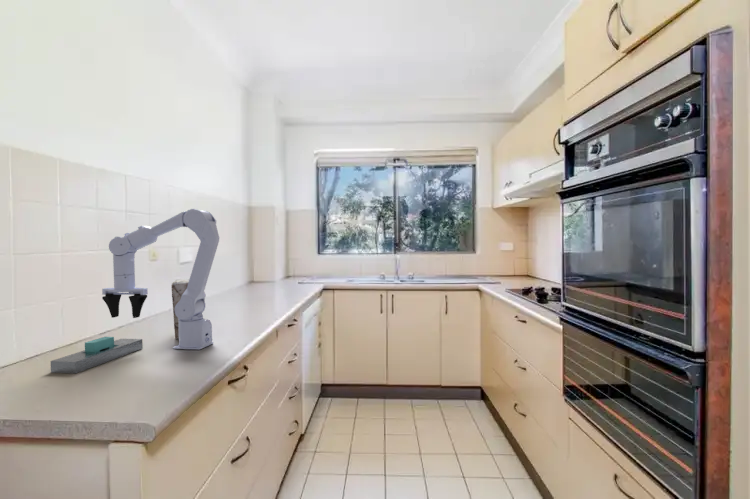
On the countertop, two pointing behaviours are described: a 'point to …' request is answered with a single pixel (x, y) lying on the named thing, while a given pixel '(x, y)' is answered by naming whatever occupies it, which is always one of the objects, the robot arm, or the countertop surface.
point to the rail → (94, 357)
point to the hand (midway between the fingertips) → (125, 317)
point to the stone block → (178, 299)
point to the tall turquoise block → (99, 344)
